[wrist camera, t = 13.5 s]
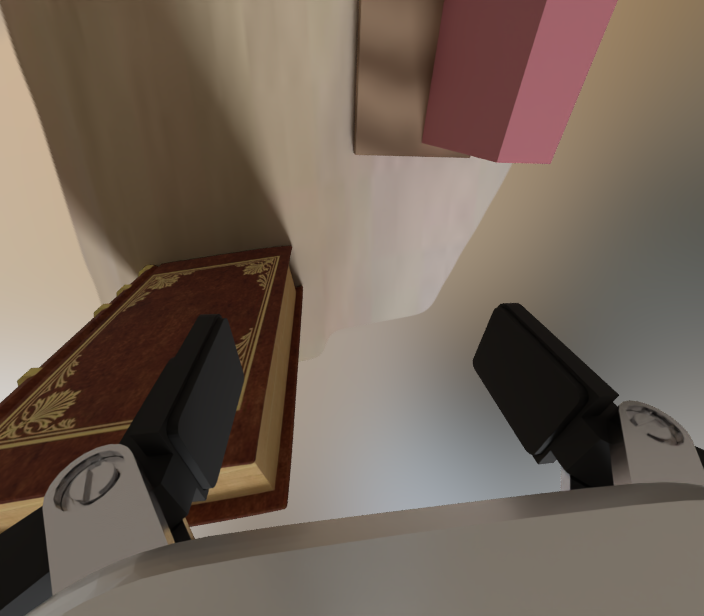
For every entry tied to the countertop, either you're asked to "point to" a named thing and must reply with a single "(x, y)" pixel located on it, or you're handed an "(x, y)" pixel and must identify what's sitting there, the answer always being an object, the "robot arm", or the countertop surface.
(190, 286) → the decorative book
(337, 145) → the countertop surface
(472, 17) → the slim book
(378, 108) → the shelf board
